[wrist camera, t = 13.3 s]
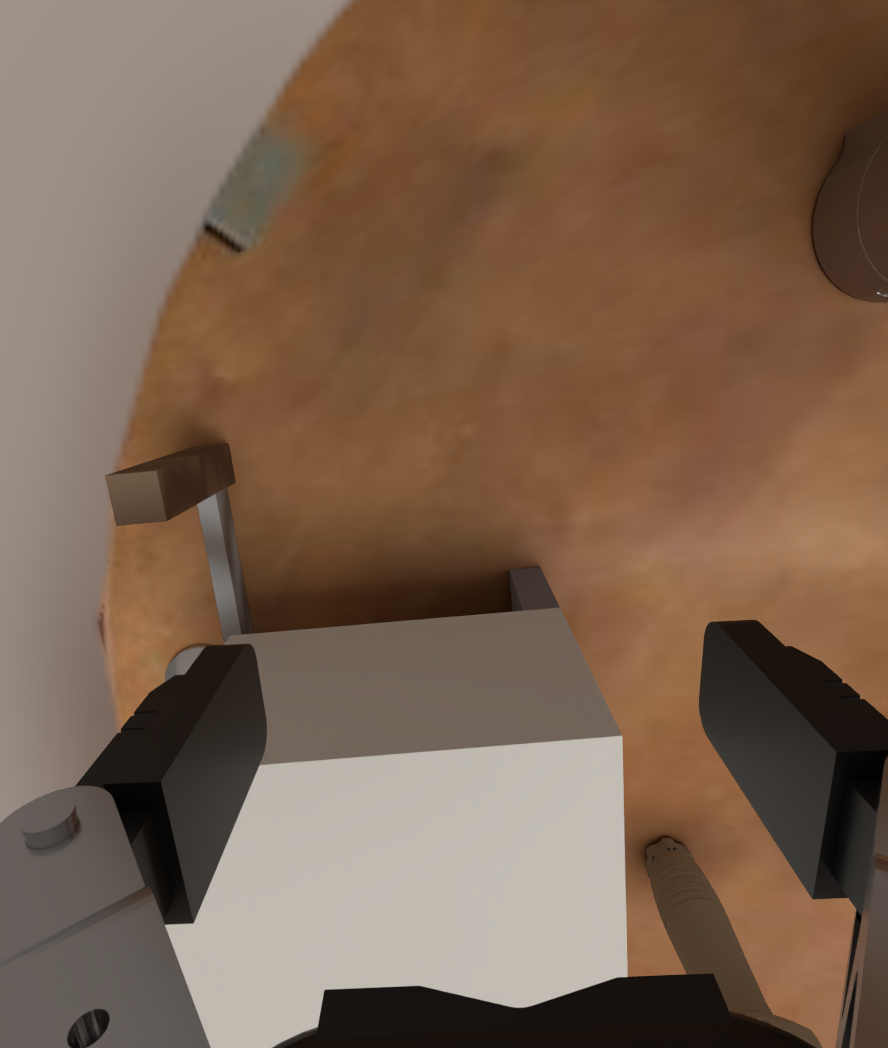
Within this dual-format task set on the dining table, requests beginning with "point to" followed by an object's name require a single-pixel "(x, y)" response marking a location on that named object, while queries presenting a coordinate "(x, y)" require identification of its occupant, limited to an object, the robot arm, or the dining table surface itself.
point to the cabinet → (417, 823)
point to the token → (184, 660)
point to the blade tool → (174, 490)
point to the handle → (707, 933)
